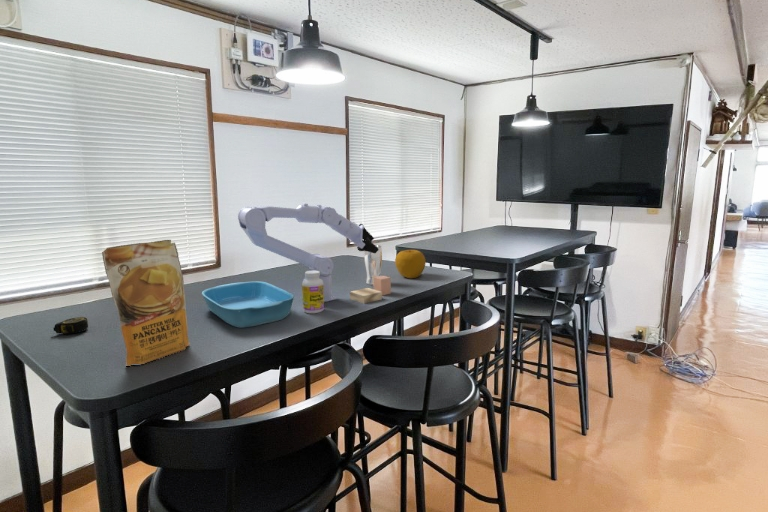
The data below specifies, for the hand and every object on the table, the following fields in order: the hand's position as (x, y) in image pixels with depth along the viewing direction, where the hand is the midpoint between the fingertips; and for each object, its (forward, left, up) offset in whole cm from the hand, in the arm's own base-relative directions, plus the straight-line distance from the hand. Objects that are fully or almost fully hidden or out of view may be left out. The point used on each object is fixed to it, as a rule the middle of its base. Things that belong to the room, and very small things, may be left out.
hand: (374, 245), depth 168 cm
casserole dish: (-48, +5, -18) cm, 51 cm away
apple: (+25, +8, -17) cm, 32 cm away
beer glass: (+6, +9, -17) cm, 21 cm away
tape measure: (-93, +22, -17) cm, 97 cm away
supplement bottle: (-31, -7, -17) cm, 36 cm away
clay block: (-1, -5, -17) cm, 18 cm away
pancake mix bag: (-79, -13, -17) cm, 82 cm away
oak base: (-10, -7, -18) cm, 21 cm away
